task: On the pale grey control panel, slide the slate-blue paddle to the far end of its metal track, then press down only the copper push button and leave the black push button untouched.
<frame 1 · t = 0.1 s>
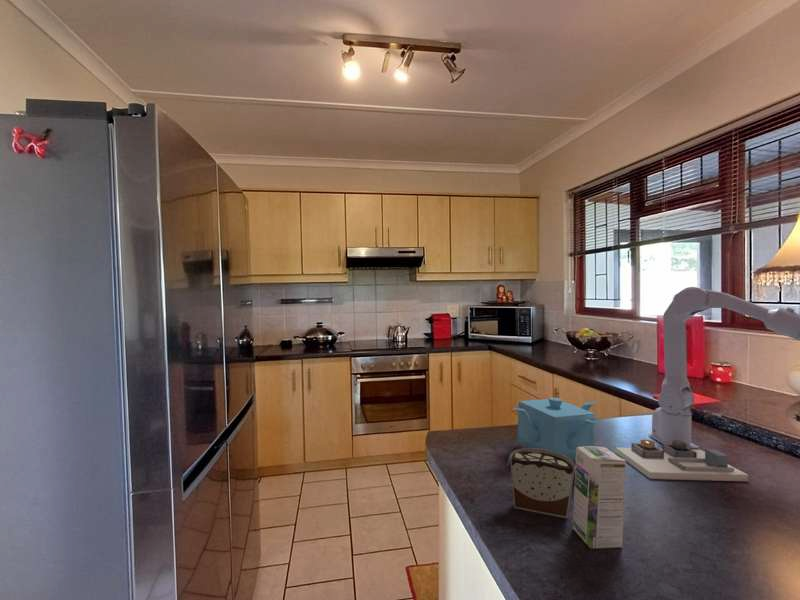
black button: (679, 445, 98), point 4 cm above the worktop, slide at 0.0 cm
control panel: (676, 466, 94), on the worktop
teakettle: (556, 458, 97), on the worktop
syrup box: (596, 539, 65), on the worktop
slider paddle: (716, 458, 91), point 3 cm above the worktop, slide at 0.0 cm
food container: (539, 505, 75), on the worktop
copper button: (647, 444, 98), point 4 cm above the worktop, slide at 0.0 cm
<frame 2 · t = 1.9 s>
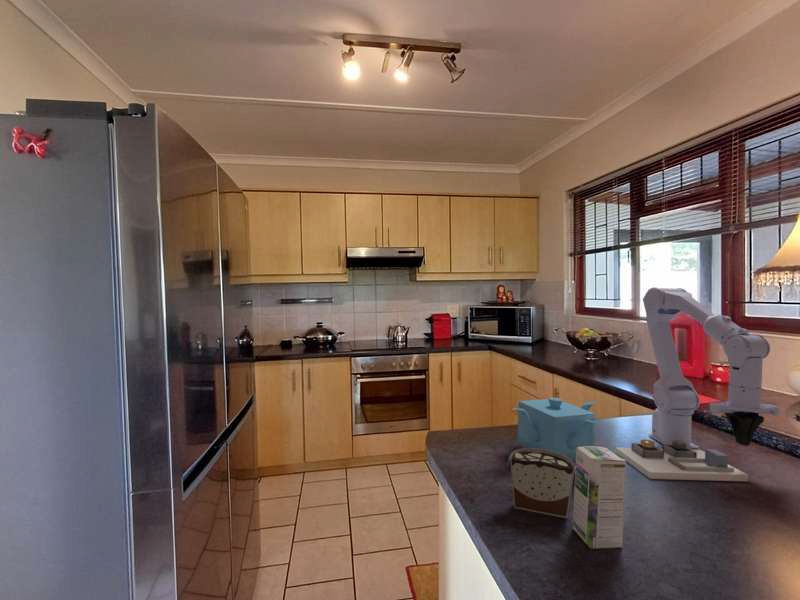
hand: (742, 444, 91), 7 cm above the worktop, tool pointing down, fingers closed
nothing on the worktop moved.
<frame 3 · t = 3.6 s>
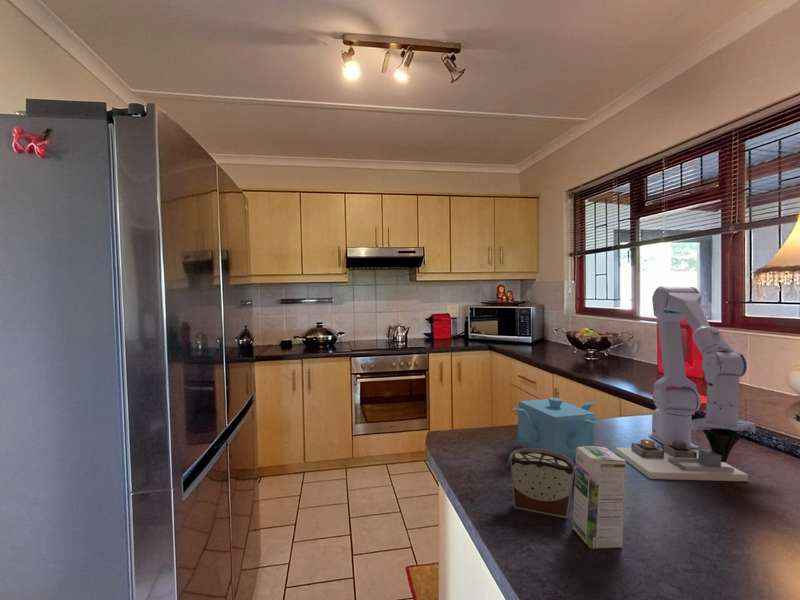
hand: (719, 460, 91), 3 cm above the worktop, tool pointing down, fingers closed
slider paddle: (709, 458, 91), point 3 cm above the worktop, slide at 1.5 cm, touching gripper
everything else where it was.
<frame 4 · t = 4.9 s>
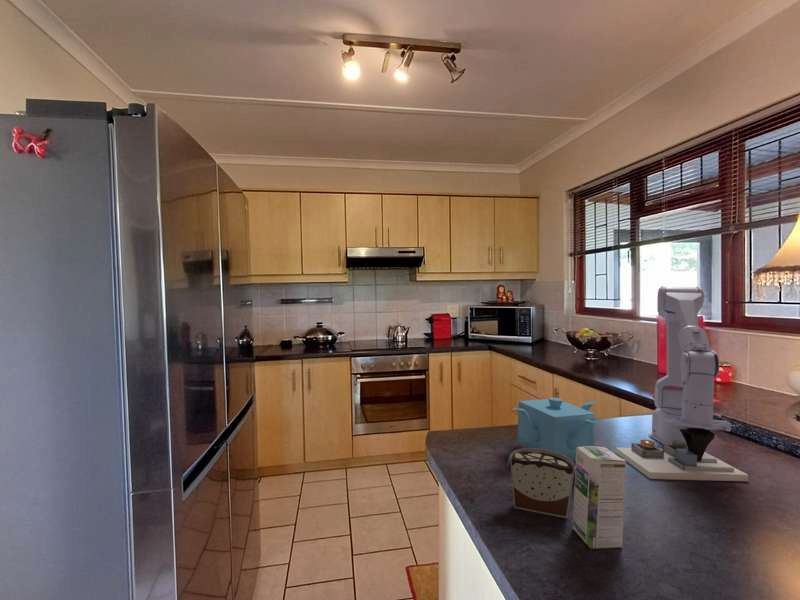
hand: (695, 459, 91), 3 cm above the worktop, tool pointing down, fingers closed
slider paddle: (685, 457, 91), point 3 cm above the worktop, slide at 7.1 cm, touching gripper
everything else where it was.
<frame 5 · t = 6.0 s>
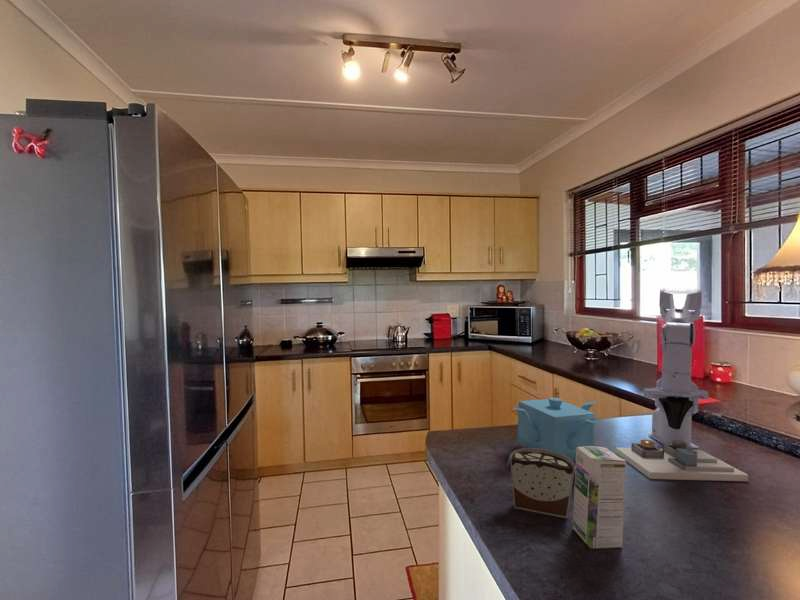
hand: (674, 427, 94), 9 cm above the worktop, tool pointing down, fingers closed
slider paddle: (686, 458, 91), point 3 cm above the worktop, slide at 7.1 cm
everything else where it was.
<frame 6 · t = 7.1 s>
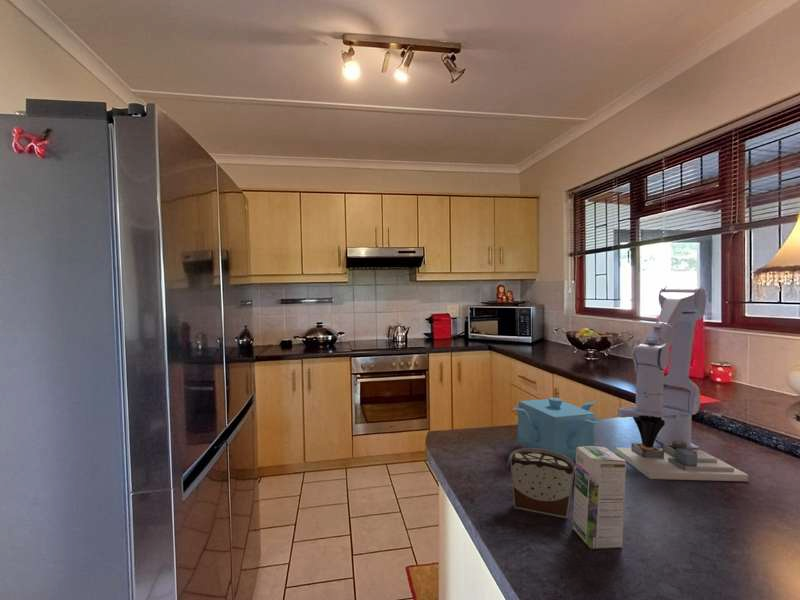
hand: (647, 445, 98), 3 cm above the worktop, tool pointing down, fingers closed, pressing on copper button
copper button: (647, 448, 98), point 3 cm above the worktop, slide at 1.0 cm, touching gripper
everything else where it was.
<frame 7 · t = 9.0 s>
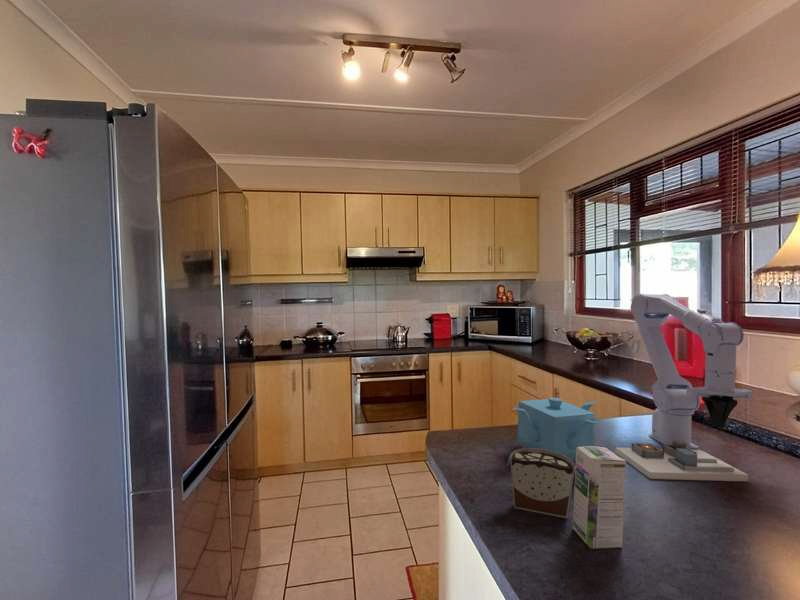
hand: (717, 426, 96), 9 cm above the worktop, tool pointing down, fingers closed
copper button: (647, 449, 98), point 3 cm above the worktop, slide at 1.1 cm
everything else where it was.
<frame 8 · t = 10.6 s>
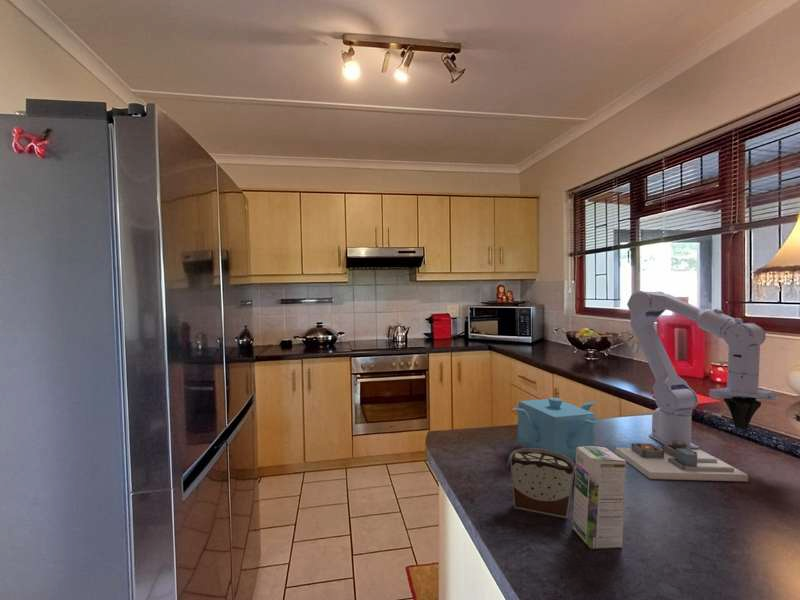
hand: (740, 428, 95), 9 cm above the worktop, tool pointing down, fingers closed
nothing on the worktop moved.
at the end: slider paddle slide at 7.1 cm; copper button slide at 1.1 cm; black button slide at 0.0 cm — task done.
